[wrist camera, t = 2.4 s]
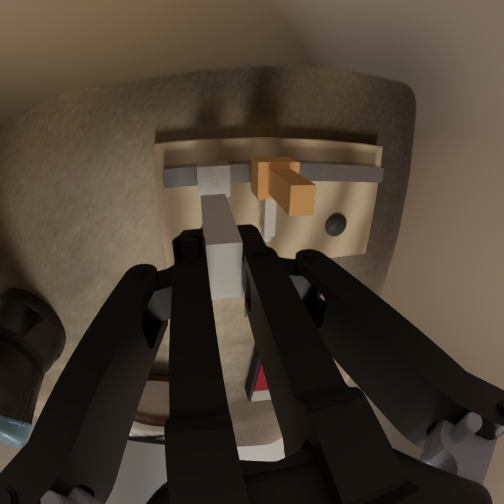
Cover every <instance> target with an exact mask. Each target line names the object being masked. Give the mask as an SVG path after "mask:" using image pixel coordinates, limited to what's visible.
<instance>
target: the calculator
mask: <svg viewBox="0 0 504 504" xmlns="http://www.w3.org/2000/svg"><path fill="white" fill-rule="evenodd" d="M245 390H246V394H247V398H248V401H260V400H269V399H271V396H270V393H269V389H268V386H267V383H266V379H265V376H264V372H263V369H262V365H261V361H260V358H259V354H258V351H257V347H256V346H255V350H254V354H253V358H252V363H251V367H250V372H249V376H248V378H247V382H246V386H245Z"/></svg>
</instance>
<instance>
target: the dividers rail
mask: <svg viewBox="0 0 504 504" xmlns="http://www.w3.org/2000/svg"><path fill="white" fill-rule="evenodd" d="M297 161H299V162H300V171H299V174H300V175H301V176H303V177H304V178H306V179H307V180H309V181H341V182H371V183H382V178H383V170H384V168H383V167H380V166H378V165H375V164H364V163H350V162H333V161H305V160H297ZM162 175H163V187H164V188H174V187H186V186H197V187H198V199H201V195H215V194H225V195H226V197H230V183H248V182H251V161H226V160H217V161H200V162H196V163H192V164H180V165H169V166H164V167H163V169H162Z"/></svg>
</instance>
